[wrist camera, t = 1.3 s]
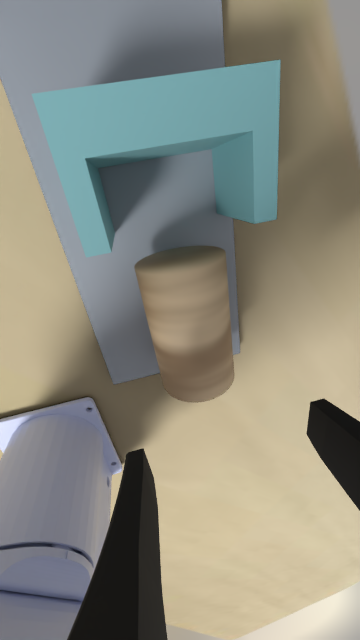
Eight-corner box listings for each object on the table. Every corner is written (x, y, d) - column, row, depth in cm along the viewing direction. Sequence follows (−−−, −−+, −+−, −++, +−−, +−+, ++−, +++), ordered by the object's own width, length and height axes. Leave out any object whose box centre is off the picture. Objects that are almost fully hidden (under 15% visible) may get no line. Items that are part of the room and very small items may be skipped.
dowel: (219, 347, 20) (246, 389, 16) (158, 362, 19) (169, 411, 15) (208, 240, 16) (241, 259, 12) (132, 257, 15) (137, 282, 11)
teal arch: (232, 210, 15) (276, 219, 11) (97, 236, 14) (86, 257, 10) (227, 103, 13) (280, 59, 8) (64, 127, 12) (31, 93, 8)
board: (237, 348, 21) (240, 353, 20) (113, 379, 20) (113, 384, 19) (215, -23, 11) (219, -34, 11) (-24, 1, 10) (-32, -9, 10)
